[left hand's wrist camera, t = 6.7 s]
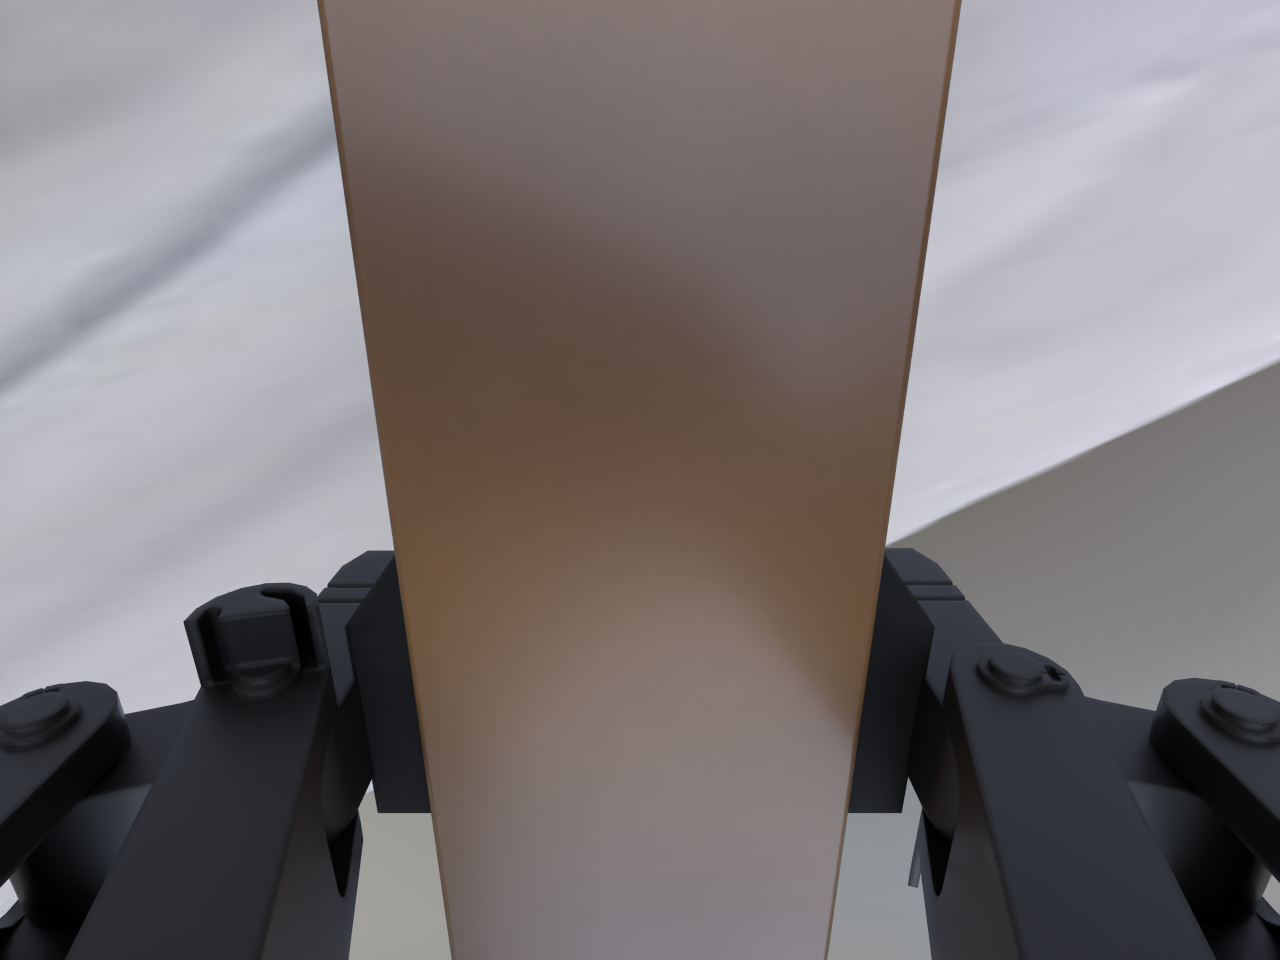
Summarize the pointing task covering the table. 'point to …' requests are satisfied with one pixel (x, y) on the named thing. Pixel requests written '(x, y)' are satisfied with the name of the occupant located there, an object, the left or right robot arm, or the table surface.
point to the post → (639, 437)
